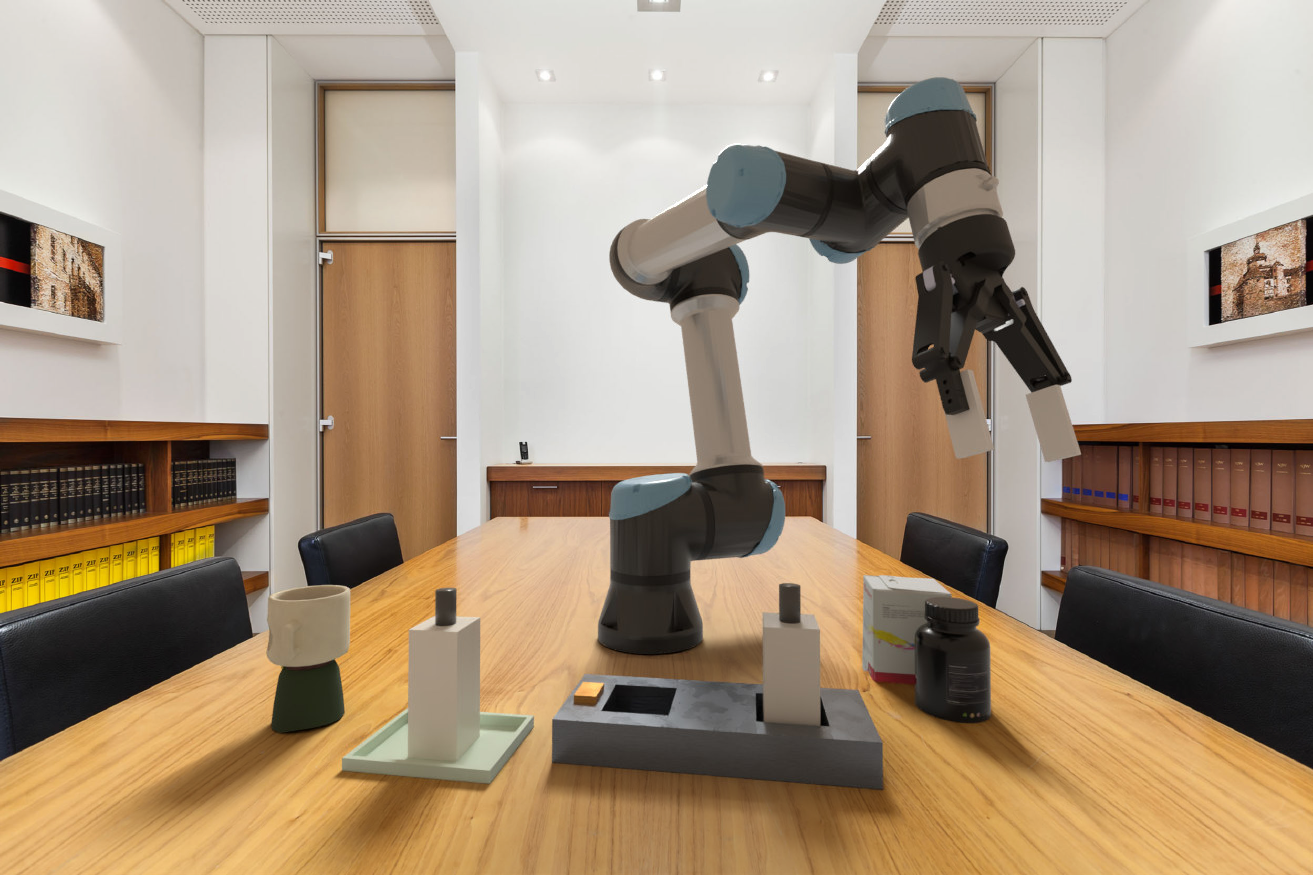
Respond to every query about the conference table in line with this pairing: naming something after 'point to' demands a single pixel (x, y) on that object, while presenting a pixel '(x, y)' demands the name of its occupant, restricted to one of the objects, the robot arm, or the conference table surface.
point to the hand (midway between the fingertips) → (1022, 456)
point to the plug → (444, 682)
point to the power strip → (715, 732)
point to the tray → (475, 765)
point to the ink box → (894, 624)
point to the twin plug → (791, 662)
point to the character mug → (308, 654)
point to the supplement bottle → (952, 662)
